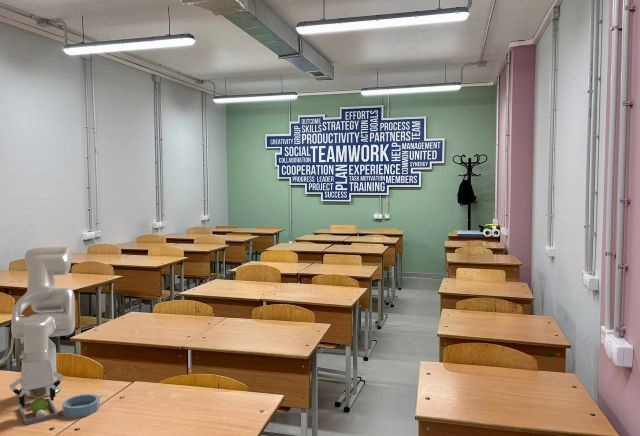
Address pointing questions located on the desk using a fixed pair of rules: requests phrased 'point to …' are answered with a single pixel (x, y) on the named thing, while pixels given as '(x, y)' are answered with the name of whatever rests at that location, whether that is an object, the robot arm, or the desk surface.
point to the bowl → (80, 405)
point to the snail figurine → (38, 399)
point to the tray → (38, 417)
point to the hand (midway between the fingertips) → (37, 402)
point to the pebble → (40, 413)
